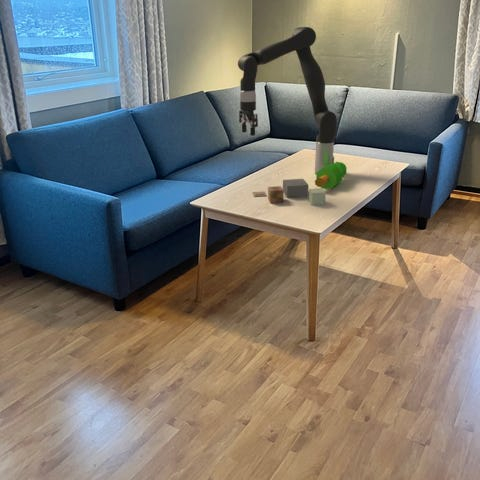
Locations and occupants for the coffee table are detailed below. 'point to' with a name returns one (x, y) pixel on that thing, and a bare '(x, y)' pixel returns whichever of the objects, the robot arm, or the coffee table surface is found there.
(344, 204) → the coffee table surface
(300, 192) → the base block
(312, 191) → the sage cube
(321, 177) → the decorative tree
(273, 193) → the walnut cube
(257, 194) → the card
